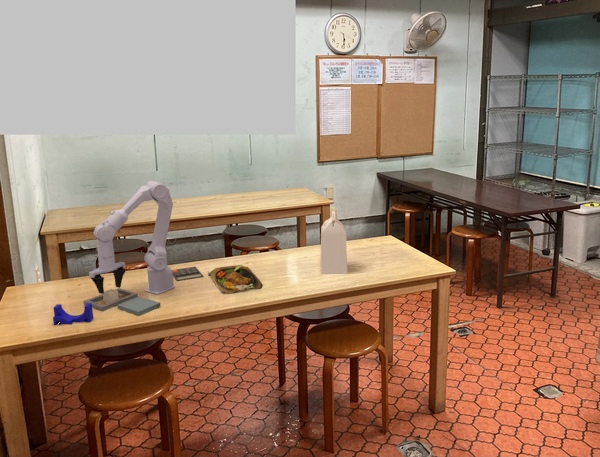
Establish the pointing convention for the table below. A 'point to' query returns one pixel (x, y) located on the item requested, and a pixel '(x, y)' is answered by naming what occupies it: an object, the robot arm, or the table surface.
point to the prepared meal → (234, 278)
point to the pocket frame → (128, 295)
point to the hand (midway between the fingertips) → (109, 290)
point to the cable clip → (69, 319)
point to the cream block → (110, 295)
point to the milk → (333, 247)
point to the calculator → (186, 273)
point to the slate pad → (138, 305)
